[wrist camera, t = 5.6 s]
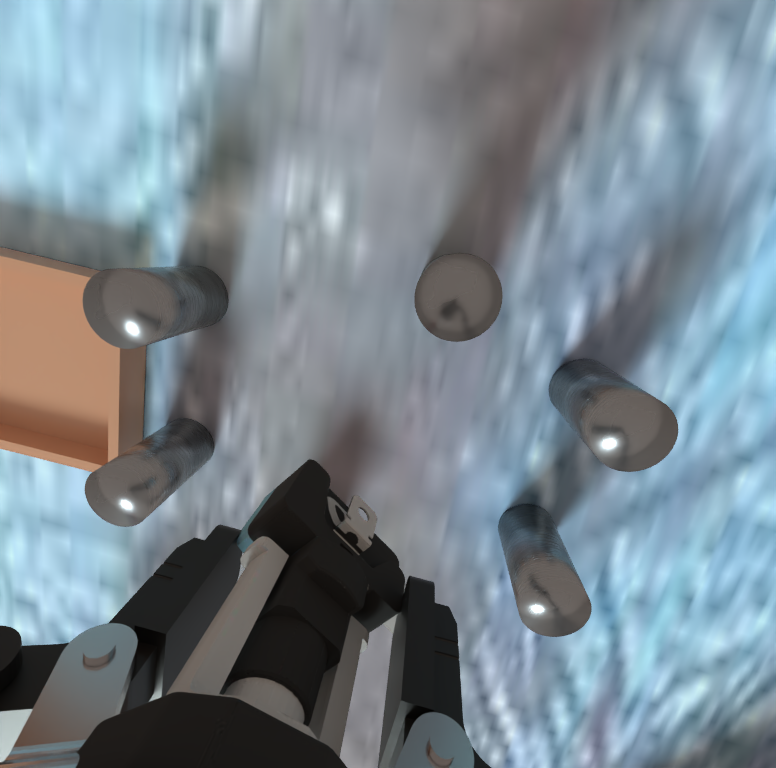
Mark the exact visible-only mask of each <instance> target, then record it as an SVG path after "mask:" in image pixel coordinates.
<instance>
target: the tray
mask: <svg viewBox="0 0 776 768" xmlns="http://www.w3.org/2000/svg"><path fill="white" fill-rule="evenodd" d="M98 272H100V271H99V270H95V269H91V268H86V267H82V266H78V265H74V264H70V263H66V262H62V261H57V260H53V259H49V258H45V257H41V256H37V255H33V254H28V253H24V252H20V251H16V250H12V249H8V248H3V247H0V449H4V450H8V451H12V452H16V453H20V454H24V455H28V456H32V457H36V458H40V459H44V460H47V461H51V462H55V463H59V464H63V465H67V466H71V467H75V468H79V469H83V470H87V471H91V472H94V471H95V470H97V469H98V468H100V467H102V466H103V465H105V464H106V463H108V462H109V461H111V460H113V459H114V458H116V457H117V456H119V455H120V454H122V453H124V452H125V451H127V450H128V449H130V448H131V447H133V446H135V445H136V444H138V443H139V442H141V441H142V440H143V420H144V393H145V367H146V345H145V346H142V347H138V348H134V349H123V348H118V347H115V346H113V345H110V344H109V343H107V342H105V341H104V340H103V339H101V338H100V337H99V336H98V335H97V334H96V333H95V332H94V330H93V329H92V328H91V326H90V325H89V323H88V321H87V319H86V316H85V313H84V309H83V292H84V289H85V286H86V284H87V282H88V281H89V280H90V278H91V277H92V276H93V275H95V274H96V273H98Z"/></svg>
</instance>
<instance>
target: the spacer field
mask: <svg viewBox="0 0 776 768" xmlns="http://www.w3.org/2000/svg"><path fill="white" fill-rule="evenodd" d="M501 304H502V287H501V283H500V280H499V278H498V276H497V274H496V272H495V271H494V270H493V268H492V267H491V266H490V265H489V264H488V263H487V262H485V261H484V260H482V259H481V258H478V257H476V256H473V255H470V254H464V253H457V254H449V255H444V256H441V257H438V258H436V259H435V260H433V261H432V262H430V263H429V264H428V265H427V267H426V268H425V269H424V271H423V273H422V275H421V277H420V279H419V281H418V283H417V286H416V290H415V308H416V312H417V315H418V317H419V319H420V321H421V323H422V324H423V326H424V327H425V328H426V329H427V330H428V331H429V332H430V333H432V334H433V335H435V336H436V337H439V338H441V339H444V340H447V341H456V342H459V341H466V340H470V339H473V338H475V337H477V336H479V335H481V334H482V333H484V332H485V331H486V330H487V329H488V328H489V327H490V326H491V325H492V324H493V322H494V321H495V320H496V318H497V316H498V314H499V311H500V308H501ZM227 306H228V294H227V290H226V288H225V285H224V284H223V282H222V280H221V279H220V278H219V277H218V276H217V275H216V274H215V273H214V272H212V271H211V270H209V269H207V268H204V267H201V266H180V267H153V268H126V269H107V270H103V271H100V272H98V273H96V274H95V275H93V276H92V277H91V278H90V280H89V281H88V282H87V284H86V286H85V289H84V292H83V309H84V313H85V316H86V319H87V321H88V323H89V325H90V326H91V328H92V329H93V330H94V332H95V333H96V334H97V335H98V336H99V337H100V338H101V339H103V340H104V341H105V342H107V343H109V344H110V345H113V346H115V347H118V348H123V349H134V348H138V347H142V346H145V345H148V344H151V343H155V342H158V341H161V340H164V339H167V338H171V337H174V336H177V335H180V334H184V333H187V332H190V331H193V330H197V329H200V328H203V327H206V326H210V325H212V324H215V323H217V322H218V321H219V320H221V318H222V317H223V316H224V314H225V312H226V310H227ZM549 396H550V400H551V402H552V404H553V405H554V406H555V408H556V409H557V410H558V411H559V412H560V414H561V415H562V416H563V417H564V418H565V420H566V421H567V422H568V423H569V424H570V426H571V427H572V428H573V429H574V430H575V432H576V433H577V434H578V435H579V436H580V438H581V439H582V440H583V441H584V442H585V444H586V445H587V446H588V447H589V448H590V450H591V451H592V452H593V453H594V454H595V456H596V457H597V458H598V459H599V460H600V461H601V462H602V463H603V464H605V465H606V466H608V467H610V468H612V469H615V470H618V471H625V472H633V471H640V470H644V469H647V468H649V467H652V466H654V465H656V464H657V463H659V462H660V461H661V460H663V459H664V458H665V457H666V456H667V455H668V454H669V452H670V451H671V450H672V448H673V446H674V445H675V442H676V439H677V436H678V424H677V420H676V417H675V415H674V413H673V412H672V410H671V409H670V408H669V407H668V406H667V405H666V404H664V403H663V402H661V401H660V400H658V399H656V398H655V397H653V396H651V395H650V394H648V393H647V392H645V391H643V390H642V389H640V388H639V387H637V386H635V385H634V384H632V383H631V382H629V381H627V380H626V379H624V378H623V377H621V376H619V375H618V374H616V373H615V372H613V371H611V370H610V369H608V368H607V367H605V366H603V365H602V364H600V363H598V362H596V361H594V360H590V359H578V360H573V361H570V362H568V363H566V364H565V365H563V366H562V367H560V368H559V369H558V370H557V371H556V373H555V374H554V375H553V377H552V379H551V381H550V385H549ZM213 450H214V444H213V440H212V437H211V435H210V433H209V432H208V430H207V429H206V428H205V427H204V426H203V425H201V424H200V423H198V422H196V421H194V420H191V419H184V418H183V419H177V420H174V421H172V422H171V423H169V424H167V425H166V426H164V427H163V428H161V429H160V430H158V431H157V432H155V433H153V434H152V435H150V436H149V437H147V438H146V439H144V440H142V441H141V442H139V443H138V444H136V445H135V446H133V447H131V448H130V449H128V450H127V451H125V452H124V453H122V454H120V455H119V456H117V457H116V458H114V459H113V460H111V461H109V462H108V463H106V464H105V465H103V466H102V467H100V468H98V469H97V470H95V471H94V472H93V473H91V474H90V475H89V477H88V478H87V481H86V484H85V495H86V498H87V501H88V503H89V505H90V506H91V508H92V509H93V511H94V512H95V513H96V514H97V515H98V516H99V517H101V518H102V519H104V520H105V521H107V522H109V523H111V524H114V525H117V526H123V527H129V526H134V525H137V524H139V523H140V522H142V521H143V520H144V519H145V518H146V517H147V516H149V515H150V514H151V513H152V512H153V511H154V510H155V509H156V508H157V507H158V506H159V505H161V504H162V503H163V502H164V501H165V500H166V499H167V498H168V497H169V496H170V495H171V494H173V493H174V492H175V491H176V490H177V489H178V488H179V487H180V486H181V485H182V484H183V483H184V482H186V481H187V480H188V479H189V478H190V477H191V476H192V475H193V474H194V473H195V472H196V471H198V470H199V469H200V468H201V467H202V466H203V465H204V464H205V463H206V462H207V461H208V460H209V459H210V458H211V456H212V454H213ZM498 531H499V535H500V539H501V543H502V547H503V551H504V555H505V559H506V563H507V567H508V571H509V575H510V579H511V583H512V587H513V591H514V595H515V599H516V603H517V607H518V611H519V615H520V618H521V620H522V622H523V623H524V624H525V625H526V626H527V627H528V628H529V629H530V630H532V631H533V632H535V633H538V634H540V635H544V636H550V637H559V636H565V635H569V634H572V633H574V632H576V631H578V630H579V629H580V628H582V627H583V626H584V625H585V624H586V622H587V621H588V619H589V617H590V615H591V602H590V600H589V597H588V595H587V593H586V591H585V589H584V587H583V585H582V582H581V580H580V578H579V576H578V574H577V572H576V570H575V567H574V565H573V563H572V561H571V559H570V557H569V555H568V552H567V550H566V548H565V546H564V544H563V542H562V539H561V537H560V535H559V533H558V531H557V529H556V527H555V524H554V522H553V520H552V518H551V516H550V515H549V514H548V512H547V511H545V510H544V509H542V508H541V507H539V506H536V505H531V504H522V505H517V506H514V507H512V508H510V509H509V510H507V511H506V512H505V513H504V514H503V515H502V517H501V518H500V521H499V525H498Z"/></svg>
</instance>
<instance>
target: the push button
mask: <svg viewBox="0 0 776 768" xmlns="http://www.w3.org/2000/svg"><path fill="white" fill-rule="evenodd" d="M329 486H330V477H329V475H328V473H327V472H326V471H325V470H324V469H323V468H322V467H321V466H320V465H319V464H318V463H317V462H316V461H314V460H311V459H310V460H308V461H307V462H305V463H304V464H303V465H302V466H301V467H300V468H299V469H298V470H296V471H295V472H294V473H293V474H292V475H291V476H289V477H288V478H287V479H286V480H285V481H284V482H282V483H281V484H280V485H279V486H278V487H277V488H276V489H274V490H273V491H272V492H271V493H270V494H269V495H267V496H266V497H265V498H264V500H263V501H262V502H261V504H260V506H259V507H258V508H257V510H256V511H255V512H254V514H253V515H252V516H251V518H250V519H249V520H248V522H247V523H246V524H245V526H244V527H243V529H242V531H241V533H240V535H239V537H238V539H237V546H238V547H239V548H240V550H241V551H242V552H243V553H244V554H243V555H242V557H241V558H240V561H241V564H242V565H243V567H244V568H245V570H244V572H243V573H242V575H241V576H240V578H239V580H238V581H237V583H236V584H235V586H234V587H233V589H232V591H231V592H230V594H229V595H228V597H227V599H226V600H225V602H224V603H223V605H222V607H221V608H220V610H219V611H218V613H217V614H216V616H215V618H214V619H213V621H212V622H211V624H210V626H209V627H208V629H207V630H206V632H205V633H204V635H203V637H202V638H201V640H200V641H199V643H198V645H197V646H196V648H195V649H194V651H193V652H192V654H191V656H190V657H189V659H188V660H187V662H186V664H185V665H184V667H183V668H182V670H181V672H180V673H179V675H178V676H177V678H176V679H175V681H174V683H173V684H172V686H171V687H170V689H169V691H168V692H167V694H166V695H165V696H163V697H160V698H158V699H155V700H153V701H150V702H148V703H145V704H143V705H140V706H138V707H135V708H133V709H130V710H128V711H125V712H123V713H120V714H118V715H115V716H113V717H110V718H108V719H106V720H104V721H102V722H101V723H99V724H98V725H97V726H96V728H95V729H94V730H93V732H92V733H91V734H90V736H89V737H88V738H87V740H86V741H85V742H84V744H83V745H82V747H81V748H80V749H79V751H78V752H77V753H78V754H79V756H80V758H79V762H78V764H77V766H76V768H347V767H346V766H345V764H344V763H343V762H342V760H341V759H340V758H339V757H340V752H341V746H342V741H343V736H344V731H345V726H346V721H347V716H348V711H349V706H350V701H351V696H352V691H353V686H354V680H355V675H356V670H357V665H358V660H359V655H360V653H362V652H363V651H365V649H366V648H367V645H368V639H369V632H371V631H372V630H374V629H376V628H377V627H379V626H380V625H382V624H383V625H384V626H385V627H386V628H388V629H389V630H390V631H391V632H392V633H393V632H394V627H395V622H396V618H397V614H398V613H400V612H401V608H402V598H403V594H404V591H405V589H404V587H405V586H406V584H405V577H404V574H403V572H402V571H401V569H400V568H399V561H398V558H397V556H396V555H395V554H394V552H393V551H392V550H391V549H390V548H389V547H388V546H387V545H386V544H385V543H384V542H383V541H382V540H381V539H380V538H379V537H378V536H377V535H376V534H375V533H374V531H375V527H376V523H377V517H376V514H375V512H374V511H373V510H372V509H371V508H370V507H369V506H368V505H367V504H366V503H365V502H364V501H363V500H362V499H361V498H360V497H359V496H353V497H352V500H351V503H350V506H349V508H348V507H347V506H346V505H345V504H344V503H343V502H342V501H341V500H340V499H339V498H338V497H337V496H336V495H335V494H334V493H333V492H332V491H331V490H330V489H329ZM358 508H360V509H362V510H364V512H365V513H366V515H367V517H368V521H365V520H364V519H363V518H362V517H361V516H360V514H359V511H358Z"/></svg>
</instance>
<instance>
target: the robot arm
mask: <svg viewBox="0 0 776 768" xmlns="http://www.w3.org/2000/svg"><path fill="white" fill-rule="evenodd" d="M241 531H242V530H238V529H235V528H231V527H227V526H223V525H218V526H217V527H216V528H215V529H214V530H213V531H212V532H211V534H210V535H209V536H208V537H207V538H206V540H201V539H198V538H193V539H191V540H190V541H188V542H186V543H184V544H183V545H181V546H179V547H177V548H176V549H175V551H174V552H173V553H172V554H171V555H170V556H169V557H168V558H167V559H166V560H165V562H164V564H162V565H161V566H160V567H159V568H158V569H157V570H156V572H155V573H154V575H153V576H151V577H150V578H149V579H148V580H147V581H146V583H145V584H144V585H143V586H142V587H141V588H140V589H139V590H138V591H137V593H136V594H135V595H134V596H133V597H132V598H131V599H130V600H129V601H128V602H127V604H126V605H125V606H124V607H123V608H122V609H121V610H120V611H119V612H118V613H117V615H116V616H115V617H114V618H113V619H112V620H111V621H110V622H109V623H108V624H103V625H98V626H95V627H93V628H90V629H88V630H86V631H84V632H83V633H81V634H79V635H78V636H77V637H75V638H74V639H73V640H72V641H71V642H70V643H65V644H53V645H31V646H22V642H21V636H20V634H19V632H17V631H16V630H15V629H13V628H11V627H7V626H0V768H76V766H77V764H78V762H79V758H80V756H79V754H78V753H77V752H78V751H79V749H80V748H81V747H82V745H83V744H84V742H85V741H86V740H87V738H88V737H89V736H90V734H91V733H92V732H93V730H94V729H95V728H96V726H97V725H98V724H99V723H101V722H102V721H104V720H106V719H108V718H110V717H113V716H115V715H118V714H120V713H123V712H125V711H128V710H130V709H133V708H135V707H138V706H140V705H143V704H145V703H148V702H150V701H153V700H155V699H158V698H160V697H163V696H165V695H166V694H167V692H168V691H169V689H170V687H171V686H172V684H173V683H174V681H175V679H176V678H177V676H178V675H179V673H180V672H181V670H182V668H183V667H184V665H185V664H186V662H187V660H188V659H189V657H190V656H191V654H192V652H193V651H194V649H195V648H196V646H197V645H198V643H199V641H200V640H201V638H202V637H203V635H204V633H205V632H206V630H207V629H208V627H209V626H210V624H211V622H212V621H213V619H214V618H215V616H216V614H217V613H218V611H219V610H220V608H221V607H222V605H223V603H224V602H225V600H226V599H227V597H228V595H229V594H230V592H231V591H232V589H233V587H234V586H235V584H236V582H237V579H238V576H239V571H240V564H241V561H240V558H241V557H242V551H241V550H240V548H239V547H238V546H237V539H238V537H239V535H240V533H241ZM378 768H491V767H490V766H489V765H487V764H486V763H485V762H484V761H483V760H482V759H481V758H480V757H479V755H478V754H477V753H476V752H475V750H474V749H473V747H472V745H471V743H470V740H469V738H468V736H467V735H466V732H465V728H464V724H463V713H462V697H461V681H460V665H459V649H458V633H457V623H456V621H455V619H454V617H453V615H452V612H451V610H450V608H449V607H448V606H444V605H441V604H437V603H435V585H434V582H431V581H427V580H423V579H420V578H416V577H412V576H409V578H408V581H407V584H406V587H405V591H404V594H403V598H402V608H401V612H400V613H398V614H397V618H396V622H395V627H394V632H393V638H392V647H391V656H390V665H389V674H388V682H387V691H386V700H385V709H384V718H383V727H382V736H381V745H380V753H379V762H378Z"/></svg>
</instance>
